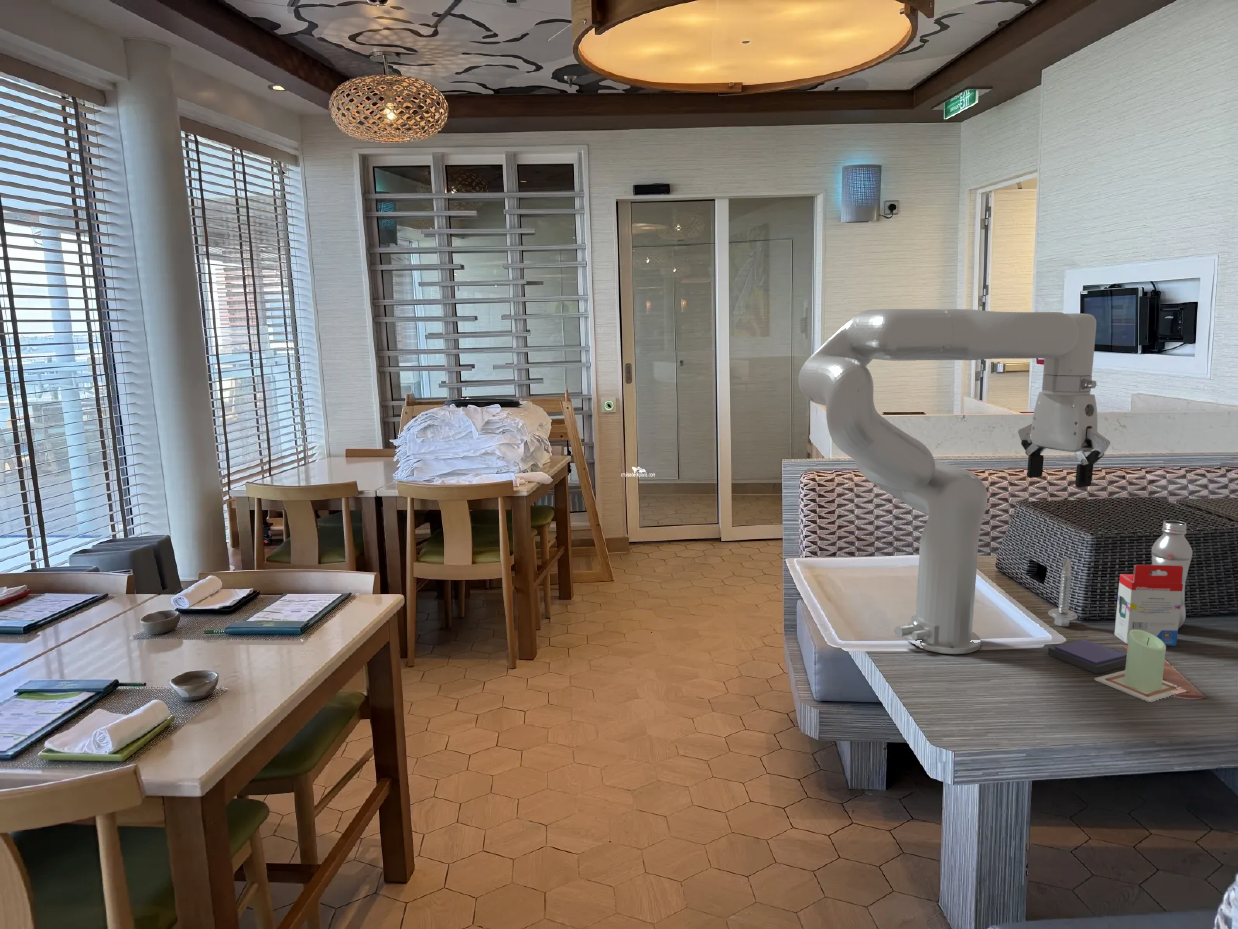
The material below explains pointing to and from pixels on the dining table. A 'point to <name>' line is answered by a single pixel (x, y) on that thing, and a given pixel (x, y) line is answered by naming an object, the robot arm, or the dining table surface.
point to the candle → (1144, 661)
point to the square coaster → (1150, 696)
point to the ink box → (1150, 602)
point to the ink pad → (1089, 656)
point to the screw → (1064, 598)
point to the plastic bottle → (1173, 554)
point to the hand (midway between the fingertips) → (1058, 481)
